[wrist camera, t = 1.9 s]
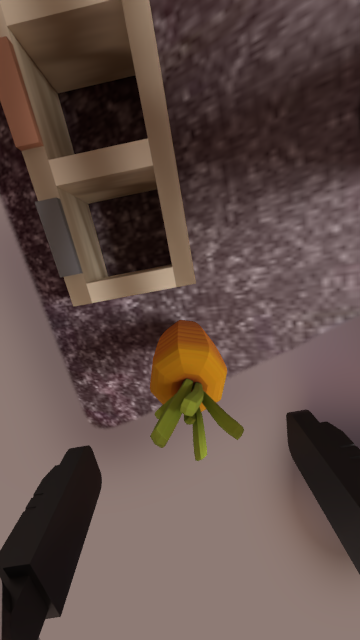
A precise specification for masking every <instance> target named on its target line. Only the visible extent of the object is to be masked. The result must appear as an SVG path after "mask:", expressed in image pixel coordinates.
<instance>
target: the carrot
mask: <svg viewBox="0 0 360 640" xmlns="http://www.w3.org/2000/svg"><path fill="white" fill-rule="evenodd" d="M226 374H227V368H226V365H225V363H224V361H223V359H222V357H221V355H220V353H219V351H218V350H217V348H216V346H215V344H214V343H213V342H212V340H211V339H210V338H209V337H208V335H207V334H206V333H205V331H204V330H203V329H202V328H201V326H200V325H198V324H197V323H196V322H193V321H185V320H179V321H177V322H176V323H175V324H173V325H172V326H171V327H169V328H168V329H167V330H166V331H165V332H164V333H163V334H162V336H161V337H160V339H159V342H158V344H157V347H156V350H155V354H154V357H153V365H152V374H151V383H150V390H151V392H152V393H153V394H154V396H155V397H156V398H157V399H158V400H159V401H160V402H161V403H162V404H163V405H162V406H161V407H160V408H159V409H158V410H157V411H156V412H155V416H156V417H157V419H159V421H158V422H157V424H156V426H155V428H154V430H153V432H152V434H151V436H150V437H151V438H152V440H153V442H154V443H155V444H156V445H157V446H159V447H161V448H163V447H164V446H165V445H166V443H167V441H168V440H169V438H170V436H171V434H172V433H173V431H174V429H175V427H176V425H177V423H178V421H179V419H180V417H181V414H182V413H183V414H184V421H185V423H186V424H193V442H194V454H195V459H196V460H197V461H199V460H202V459H203V458H204V457H205V456H206V455H207V446H206V439H205V431H204V424H203V418H202V413H201V412H202V411H203V410H205V409H207V410H208V412H209V413H210V414H211V416H212V417H213V418H214V420H215V421H216V422H217V424H218V425H219V426H220V427H221V428H223V430H225V431H226V432H227V433H228V434H229V435H231V436H233V437H234V438H235V439H237V440H238V439H239V438H240V437H241V436H242V433H243V431H244V429H243V427H242V426H241V425H240V424H239V423H238V422H237V421H235V420H234V419H233V418H231V417H230V416H229V415H228V414H227V413H226V412H225V411H224V410H223V409H222V408H220V407H219V405H218V404H217V403H216V402H218V401H220V400H221V397H222V392H223V388H224V383H225V379H226Z"/></svg>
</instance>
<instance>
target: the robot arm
mask: <svg viewBox="0 0 360 640" xmlns="http://www.w3.org/2000/svg"><path fill="white" fill-rule="evenodd" d="M286 418H287V436H288V446H289V450H290V453H291V456H292V458H293V460H294V462H295V464H296V465H297V467H298V469H299V471H300V472H301V474H302V476H303V477H304V479H305V481H306V483H307V484H308V486H309V488H310V490H311V491H312V493H313V495H314V496H315V498H316V500H317V502H318V503H319V505H320V507H321V509H322V510H323V512H324V514H325V515H326V517H327V519H328V521H329V522H330V524H331V526H332V528H333V529H334V531H335V533H336V534H337V536H338V538H339V539H340V541H341V543H342V545H343V546H344V548H345V550H346V552H347V553H348V555H349V557H350V559H351V560H352V562H353V564H354V565H355V567H356V569H357V571H358V572H359V574H360V449H359V448H358V447H356V446H355V444H354V443H353V442H352V441H351V440H350V439H349V438H348V437H347V436H346V435H345V433H344V432H343V431H341V430H340V429H338V428H336V427H335V426H333V425H332V424H330V423H328V422H321V423H320V422H319V421H318V420H317V419H316V418H315V417H314V416H313V415H312V413H311V412H310V411H309V410H301V411H295V412H289V413H287V415H286ZM101 484H102V477H101V472H100V469H99V467H98V464H97V461H96V459H95V456H94V453H93V451H92V448H91V447H90V446H83V447H76V448H71V449H69V450H68V451H67V452H66V454H65V456H64V458H63V459H62V461H61V463H60V465H57V466H55V467H54V468H53V469H52V470H51V471H50V472H49V473H48V474H47V475H46V476H45V477H44V478H43V479H42V481H41V483H40V485H39V486H38V488H37V490H36V491H35V493H34V497H33V498H31V500H30V502H29V503H28V505H27V507H26V510H25V511H24V512H23V513H22V515H21V517H20V518H19V520H18V522H17V523H16V525H15V527H14V529H13V530H12V532H11V534H10V535H9V537H8V539H7V540H6V542H5V544H4V545H3V547H2V549H1V550H0V640H40V638H39V635H40V632H41V629H42V626H43V623H44V621H45V619H48V618H55V617H60V616H61V614H62V610H63V607H64V604H65V601H66V598H67V595H68V592H69V589H70V585H71V582H72V579H73V576H74V573H75V569H76V566H77V563H78V560H79V557H80V554H81V551H82V548H83V544H84V541H85V538H86V535H87V532H88V528H89V525H90V522H91V519H92V516H93V513H94V510H95V506H96V503H97V500H98V497H99V494H100V490H101Z"/></svg>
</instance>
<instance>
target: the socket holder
mask: <svg viewBox="0 0 360 640" xmlns="http://www.w3.org/2000/svg"><path fill="white" fill-rule="evenodd" d="M135 75H136V79H137V84H138V89H139V95H140V100H141V105H142V110H143V116H144V121H145V126H146V131H147V136H148V138H147V139H143V140H138V141H134V142H129V143H124V144H120V145H115V146H111V147H106V148H102V149H97V150H92V151H88V152H83V153H79V154H74V151H73V147H72V143H71V140H70V136H69V133H68V129H67V125H66V122H65V118H64V114H63V111H62V107H61V104H60V100H59V96H58V93H62V92H66V91H71V90H75V89H79V88H83V87H88V86H92V85H96V84H101V83H105V82H109V81H114V80H118V79H122V78H126V77H131V76H135ZM0 101H1V104H2V107H3V110H4V113H5V116H6V119H7V122H8V125H9V128H10V131H11V134H12V137H13V140H14V143H15V146H16V148H18V149H20V150H21V151H22V154H23V157H24V160H25V163H26V166H27V169H28V172H29V175H30V178H31V181H32V184H33V187H34V190H35V193H36V196H37V199H38V201H37V202H35V205H36V208H37V211H38V214H39V217H40V220H41V223H42V225H43V228H44V231H45V234H46V237H47V240H48V243H49V246H50V249H51V252H52V255H53V258H54V261H55V264H56V267H57V270H58V273H59V276H60V277H64V280H65V283H66V286H67V289H68V292H69V295H70V298H71V301H72V304H73V306H79V305H84V304H89V303H95V302H100V301H105V300H111V299H116V298H121V297H127V296H132V295H137V294H143V293H148V292H153V291H158V290H164V289H169V288H174V287H180V286H185V285H190V284H196V281H195V275H194V269H193V263H192V257H191V251H190V245H189V239H188V233H187V227H186V221H185V215H184V209H183V202H182V196H181V190H180V184H179V178H178V172H177V166H176V160H175V154H174V148H173V142H172V136H171V130H170V124H169V118H168V112H167V106H166V100H165V94H164V87H163V81H162V75H161V69H160V63H159V57H158V51H157V45H156V39H155V33H154V27H153V21H152V15H151V9H150V3H149V0H0ZM156 189H158V194H159V199H160V204H161V210H162V215H163V220H164V225H165V230H166V236H167V241H168V246H169V251H170V257H171V262H172V264H170V265H165V266H160V267H155V268H150V269H145V270H139V271H134V272H129V273H124V274H119V275H113V276H108V274H107V270H106V267H105V263H104V259H103V256H102V252H101V248H100V245H99V241H98V238H97V234H96V230H95V227H94V223H93V220H92V216H91V212H90V209H89V205H88V204H89V203H94V202H99V201H104V200H109V199H113V198H118V197H123V196H128V195H133V194H137V193H142V192H147V191H152V190H156Z"/></svg>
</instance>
